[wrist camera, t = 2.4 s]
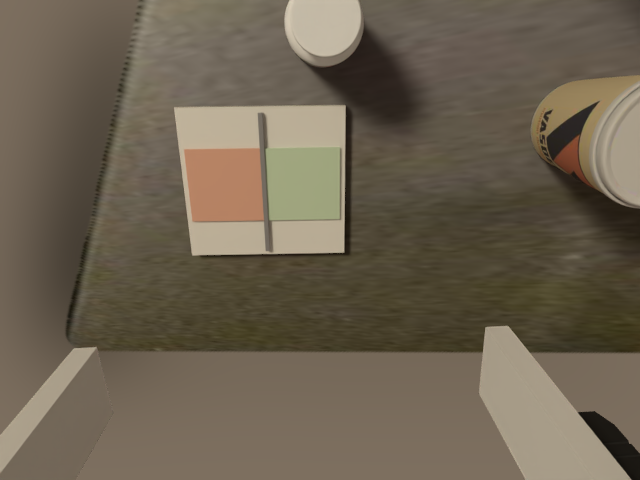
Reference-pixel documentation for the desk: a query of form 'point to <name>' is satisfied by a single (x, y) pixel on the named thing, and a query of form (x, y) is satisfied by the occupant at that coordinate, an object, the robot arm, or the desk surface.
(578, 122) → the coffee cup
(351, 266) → the desk surface
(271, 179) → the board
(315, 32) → the pill bottle
